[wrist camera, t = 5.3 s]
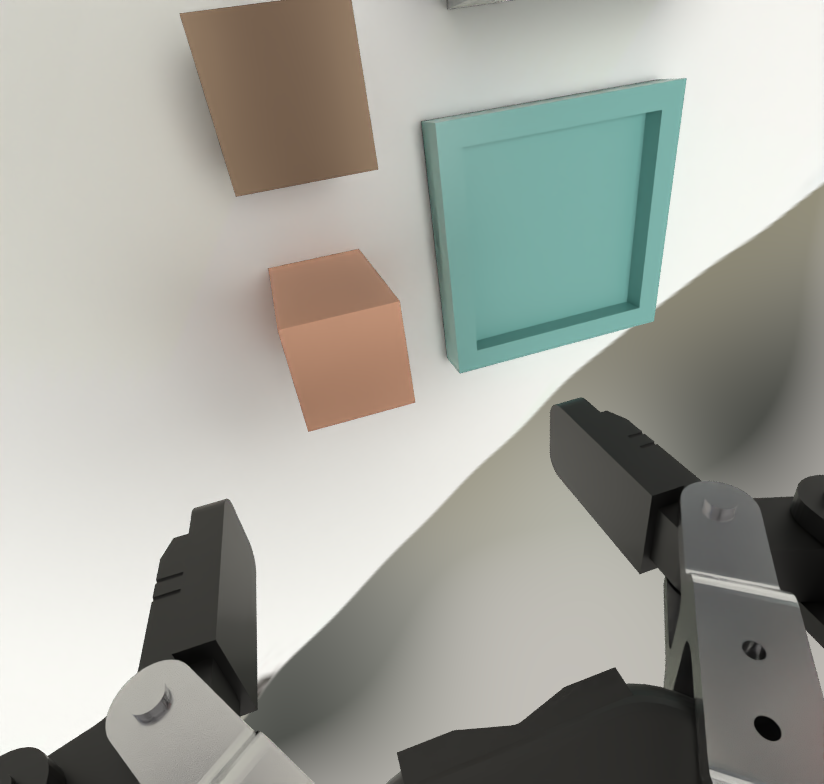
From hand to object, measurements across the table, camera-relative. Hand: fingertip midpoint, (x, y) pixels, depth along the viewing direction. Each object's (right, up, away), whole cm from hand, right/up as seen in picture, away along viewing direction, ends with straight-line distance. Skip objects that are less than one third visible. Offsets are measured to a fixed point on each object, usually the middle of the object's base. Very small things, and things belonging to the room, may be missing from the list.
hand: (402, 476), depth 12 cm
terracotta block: (-4, +6, +11) cm, 13 cm away
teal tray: (+7, +10, +12) cm, 17 cm away
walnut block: (-5, +13, +6) cm, 15 cm away
